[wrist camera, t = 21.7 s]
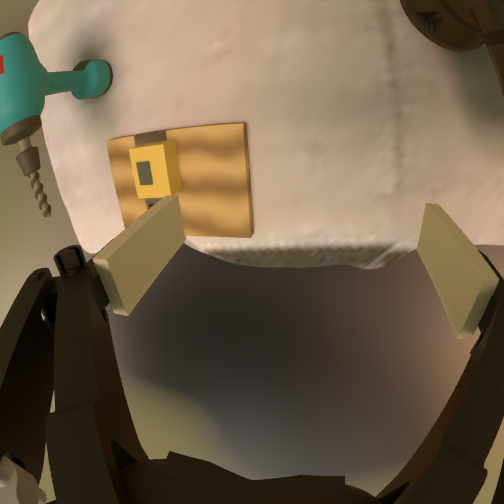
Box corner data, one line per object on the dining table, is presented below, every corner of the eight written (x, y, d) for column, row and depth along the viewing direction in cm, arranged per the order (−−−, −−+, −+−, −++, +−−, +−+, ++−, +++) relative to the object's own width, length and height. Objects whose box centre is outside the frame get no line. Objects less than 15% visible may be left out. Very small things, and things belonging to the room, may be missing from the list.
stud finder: (142, 143, 41) (127, 149, 38) (175, 139, 40) (162, 144, 37) (150, 189, 45) (137, 199, 42) (182, 188, 44) (170, 197, 41)
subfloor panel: (113, 138, 44) (106, 141, 42) (245, 122, 39) (242, 123, 37) (132, 229, 53) (126, 234, 51) (253, 232, 48) (251, 237, 46)
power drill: (142, 165, 46) (44, 226, 26) (107, 177, 48) (14, 235, 28) (107, 25, 32) (-1, 19, 13) (74, 47, 35) (-29, 56, 15)
